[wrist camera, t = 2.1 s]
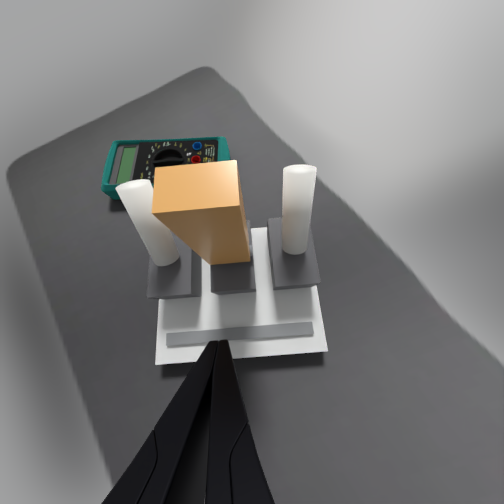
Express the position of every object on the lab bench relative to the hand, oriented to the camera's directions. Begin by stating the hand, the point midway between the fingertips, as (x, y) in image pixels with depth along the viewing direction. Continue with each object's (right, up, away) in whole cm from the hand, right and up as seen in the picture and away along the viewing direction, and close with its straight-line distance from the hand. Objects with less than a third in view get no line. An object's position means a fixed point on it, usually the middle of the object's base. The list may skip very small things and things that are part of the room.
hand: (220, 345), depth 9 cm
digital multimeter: (-9, +14, +16) cm, 23 cm away
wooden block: (0, +4, +7) cm, 8 cm away
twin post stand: (0, 0, +11) cm, 11 cm away
